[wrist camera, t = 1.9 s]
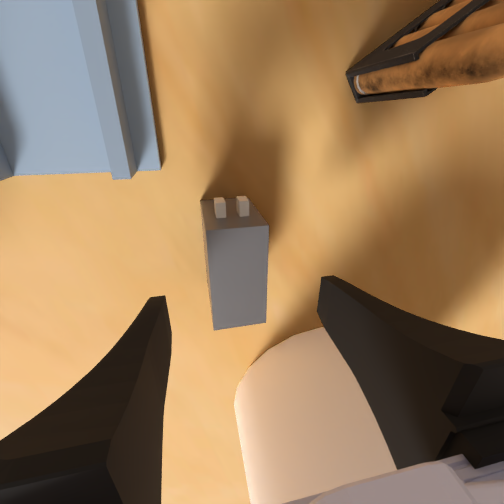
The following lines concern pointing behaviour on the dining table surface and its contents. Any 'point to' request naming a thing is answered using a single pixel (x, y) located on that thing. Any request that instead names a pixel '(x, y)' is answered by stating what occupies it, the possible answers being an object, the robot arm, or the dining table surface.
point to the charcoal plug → (235, 261)
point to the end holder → (74, 89)
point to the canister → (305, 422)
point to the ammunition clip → (435, 53)
